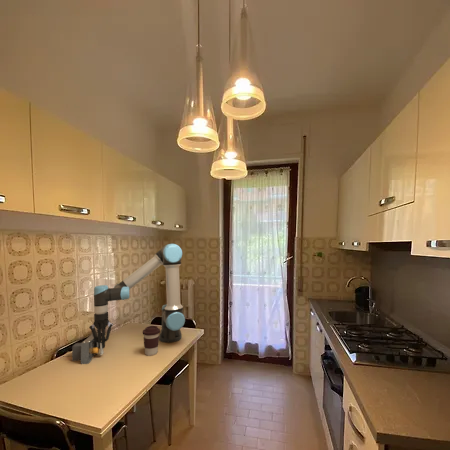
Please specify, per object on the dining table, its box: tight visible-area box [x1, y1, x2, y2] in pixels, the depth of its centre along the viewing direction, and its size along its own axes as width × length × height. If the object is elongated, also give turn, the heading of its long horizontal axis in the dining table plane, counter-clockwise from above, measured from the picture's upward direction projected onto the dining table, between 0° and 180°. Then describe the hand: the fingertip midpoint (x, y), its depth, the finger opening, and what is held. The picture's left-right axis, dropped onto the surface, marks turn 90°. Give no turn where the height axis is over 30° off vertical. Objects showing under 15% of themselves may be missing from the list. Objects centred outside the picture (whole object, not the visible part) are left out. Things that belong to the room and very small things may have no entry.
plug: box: [71, 342, 100, 362], centre depth 149 cm, size 13×5×8 cm, turn 99°
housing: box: [80, 332, 99, 365], centre depth 149 cm, size 4×16×11 cm, turn 6°
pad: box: [63, 351, 72, 357], centre depth 154 cm, size 9×6×1 cm, turn 96°
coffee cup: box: [142, 325, 161, 357], centre depth 154 cm, size 10×10×15 cm
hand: (101, 353), depth 150 cm, fingers closed
